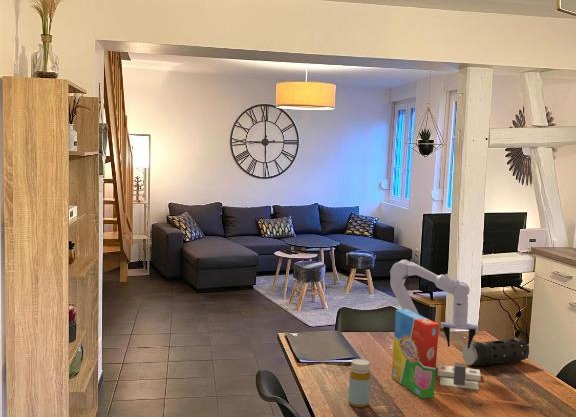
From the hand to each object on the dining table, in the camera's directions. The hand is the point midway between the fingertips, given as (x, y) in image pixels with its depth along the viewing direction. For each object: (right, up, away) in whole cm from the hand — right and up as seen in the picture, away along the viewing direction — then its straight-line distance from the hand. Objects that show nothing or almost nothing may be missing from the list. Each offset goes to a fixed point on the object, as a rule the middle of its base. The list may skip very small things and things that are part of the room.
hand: (458, 346), depth 243 cm
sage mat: (-3, -12, -13) cm, 17 cm away
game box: (-22, -11, -17) cm, 30 cm away
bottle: (-44, -12, -34) cm, 57 cm away
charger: (-3, -11, -12) cm, 17 cm away
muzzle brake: (+18, -11, +12) cm, 24 cm away
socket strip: (-1, -11, -4) cm, 12 cm away
